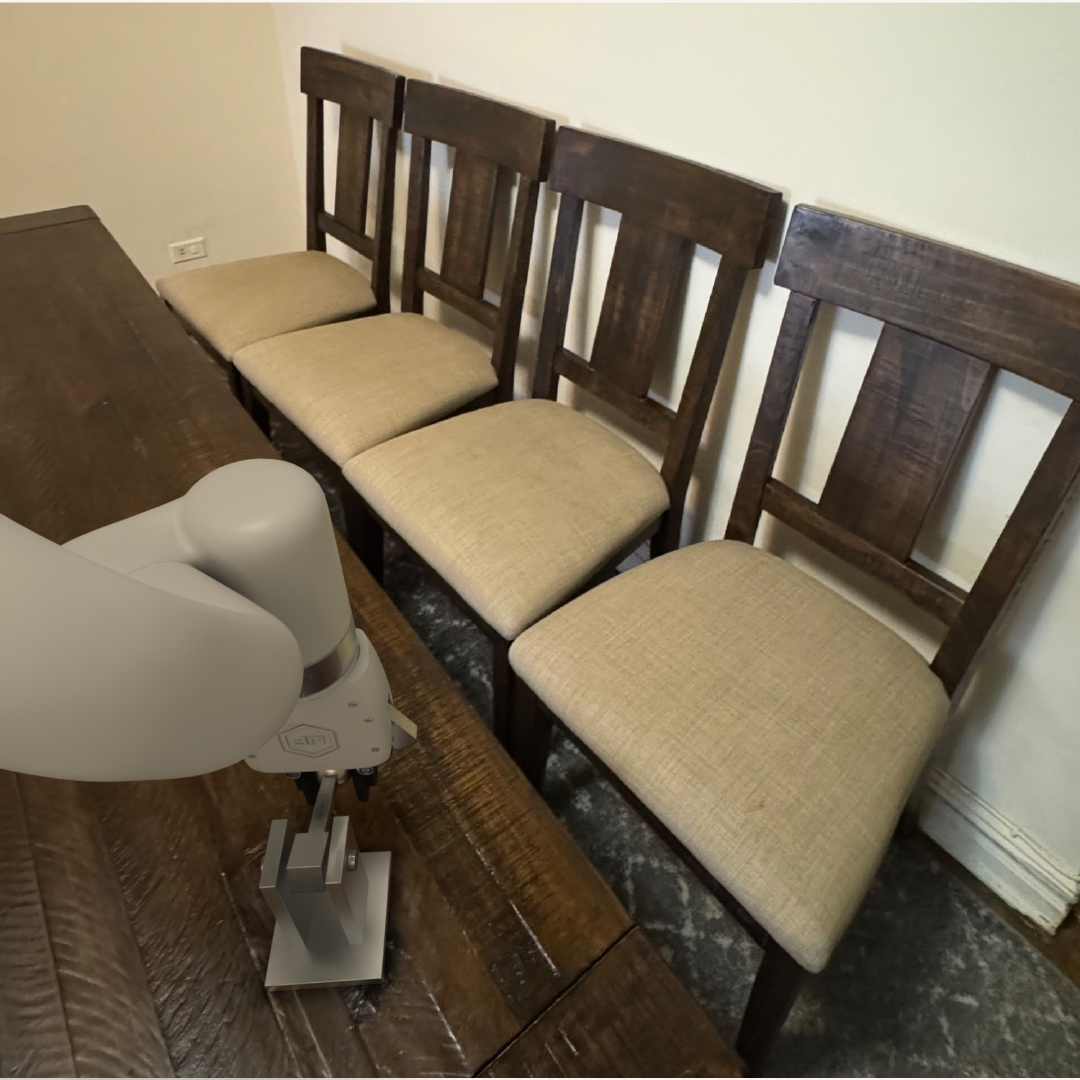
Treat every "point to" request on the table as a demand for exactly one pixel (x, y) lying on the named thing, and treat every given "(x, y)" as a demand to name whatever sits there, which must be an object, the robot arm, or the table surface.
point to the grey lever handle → (315, 837)
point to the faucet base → (327, 914)
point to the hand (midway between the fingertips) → (340, 785)
